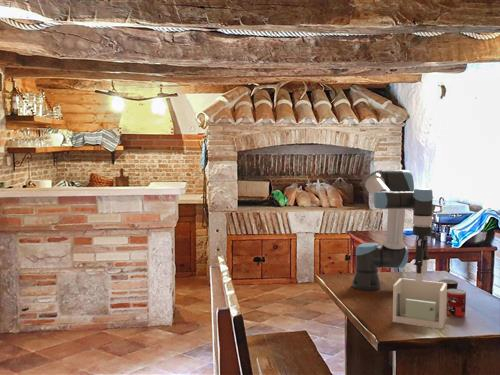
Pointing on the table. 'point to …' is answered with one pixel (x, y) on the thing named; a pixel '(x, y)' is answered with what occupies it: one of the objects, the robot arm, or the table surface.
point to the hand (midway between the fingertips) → (421, 277)
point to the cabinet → (419, 292)
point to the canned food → (456, 303)
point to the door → (420, 309)
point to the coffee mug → (450, 283)
